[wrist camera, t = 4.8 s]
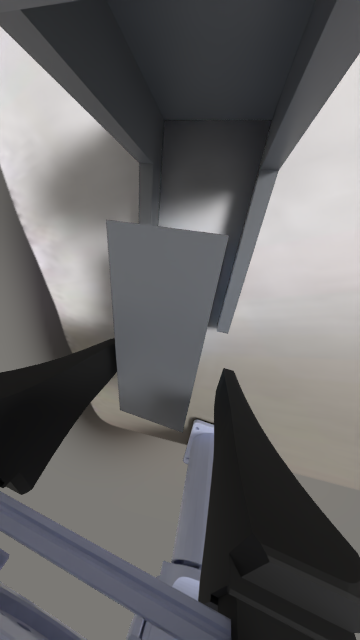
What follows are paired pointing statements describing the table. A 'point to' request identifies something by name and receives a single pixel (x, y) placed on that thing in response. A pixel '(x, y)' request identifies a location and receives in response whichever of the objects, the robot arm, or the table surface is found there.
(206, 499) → the robot arm
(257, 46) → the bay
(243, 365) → the table surface
